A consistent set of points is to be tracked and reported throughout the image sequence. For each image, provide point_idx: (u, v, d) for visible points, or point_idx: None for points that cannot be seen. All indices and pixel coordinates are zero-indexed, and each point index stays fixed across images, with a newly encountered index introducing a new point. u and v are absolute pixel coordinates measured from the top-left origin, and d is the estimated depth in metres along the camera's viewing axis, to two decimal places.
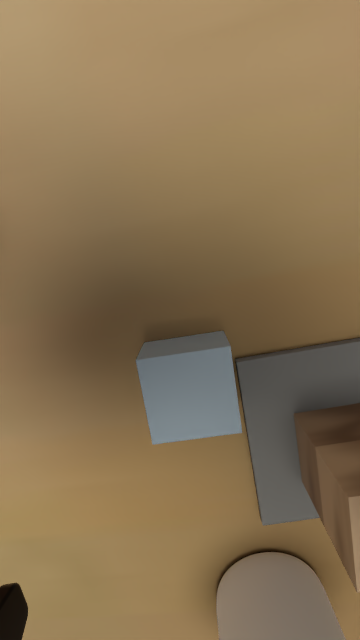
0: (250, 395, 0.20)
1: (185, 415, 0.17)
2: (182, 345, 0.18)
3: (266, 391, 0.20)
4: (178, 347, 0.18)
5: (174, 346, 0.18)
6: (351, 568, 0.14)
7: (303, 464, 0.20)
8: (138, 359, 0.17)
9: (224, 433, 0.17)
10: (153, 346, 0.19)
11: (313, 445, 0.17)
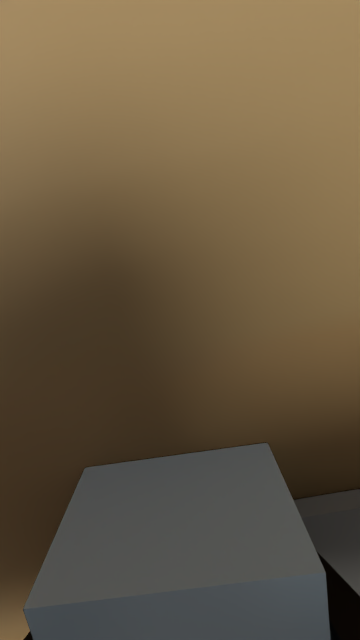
0: None
1: None
2: (171, 519, 0.07)
3: None
4: (160, 529, 0.06)
5: (151, 521, 0.07)
6: None
7: None
8: (32, 603, 0.05)
9: None
10: (97, 504, 0.07)
11: None
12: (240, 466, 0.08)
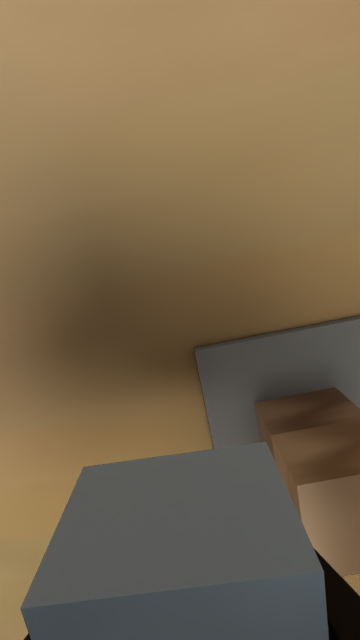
0: (209, 385, 0.19)
1: None
2: (170, 518, 0.07)
3: (226, 380, 0.19)
4: (157, 529, 0.06)
5: (149, 521, 0.07)
6: None
7: None
8: (30, 602, 0.05)
9: None
10: (96, 503, 0.07)
11: (269, 434, 0.16)
12: (239, 465, 0.08)
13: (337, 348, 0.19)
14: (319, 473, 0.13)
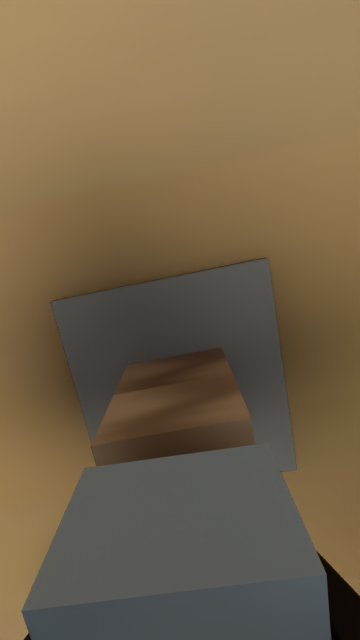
0: (72, 343, 0.16)
1: None
2: (171, 520, 0.07)
3: (91, 338, 0.16)
4: (159, 530, 0.06)
5: (150, 522, 0.07)
6: None
7: None
8: (31, 605, 0.05)
9: None
10: (97, 505, 0.07)
11: (115, 394, 0.14)
12: (240, 467, 0.08)
13: (220, 300, 0.16)
14: (127, 432, 0.10)
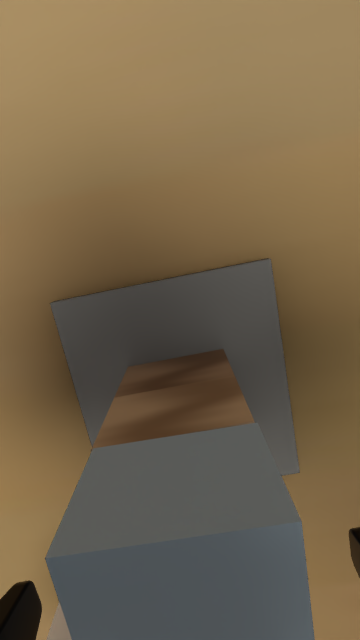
0: (72, 345, 0.16)
1: None
2: (171, 486, 0.07)
3: (91, 339, 0.16)
4: (160, 494, 0.07)
5: (153, 489, 0.07)
6: None
7: None
8: (53, 554, 0.06)
9: None
10: (105, 477, 0.08)
11: (116, 396, 0.13)
12: (232, 442, 0.09)
13: (222, 301, 0.16)
14: (128, 436, 0.10)
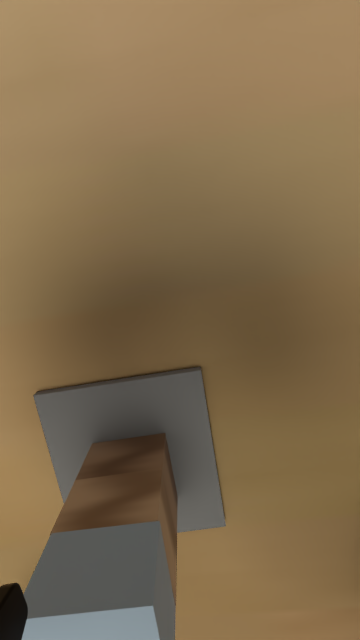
0: (49, 426, 0.21)
1: None
2: (92, 572, 0.12)
3: (64, 422, 0.21)
4: (84, 578, 0.12)
5: (80, 574, 0.12)
6: None
7: None
8: None
9: None
10: (55, 560, 0.13)
11: (77, 478, 0.18)
12: (138, 538, 0.14)
13: (164, 398, 0.21)
14: (76, 523, 0.15)
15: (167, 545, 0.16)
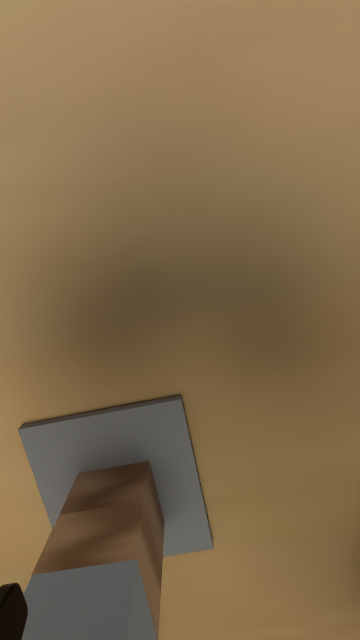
0: (35, 458, 0.22)
1: None
2: (68, 617, 0.13)
3: (49, 454, 0.21)
4: (60, 624, 0.13)
5: (57, 619, 0.13)
6: None
7: None
8: None
9: None
10: (34, 605, 0.14)
11: (61, 512, 0.19)
12: (115, 579, 0.14)
13: (146, 427, 0.21)
14: (57, 563, 0.15)
15: (148, 580, 0.16)
